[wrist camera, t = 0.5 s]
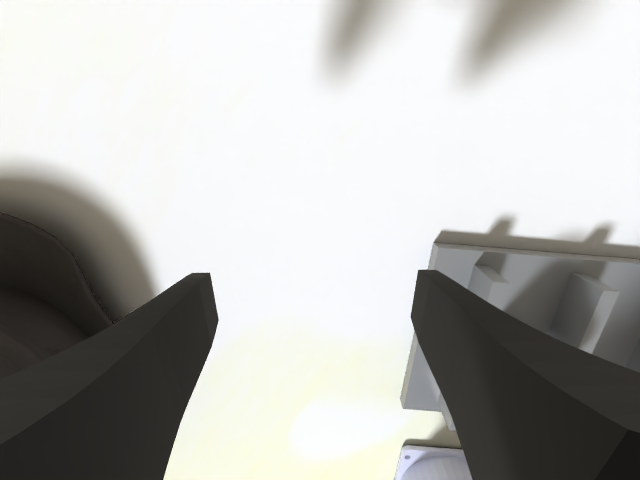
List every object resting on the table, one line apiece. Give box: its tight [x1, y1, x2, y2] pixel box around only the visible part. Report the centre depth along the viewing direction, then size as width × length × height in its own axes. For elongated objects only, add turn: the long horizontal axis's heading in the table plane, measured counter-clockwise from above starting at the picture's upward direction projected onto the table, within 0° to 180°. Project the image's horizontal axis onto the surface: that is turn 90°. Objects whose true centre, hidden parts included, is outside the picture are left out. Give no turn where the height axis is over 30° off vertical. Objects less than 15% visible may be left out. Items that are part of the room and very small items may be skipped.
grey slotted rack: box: [400, 243, 640, 431], centre depth 21 cm, size 14×26×5 cm, turn 86°
